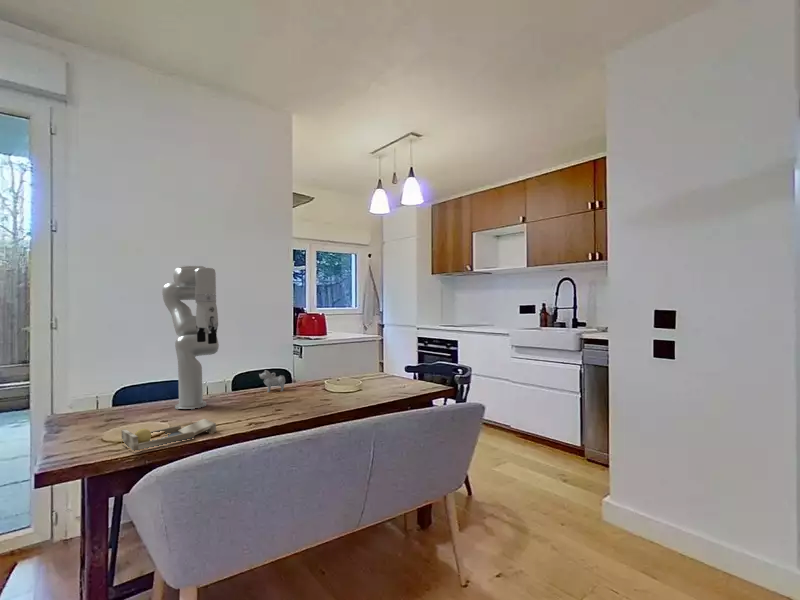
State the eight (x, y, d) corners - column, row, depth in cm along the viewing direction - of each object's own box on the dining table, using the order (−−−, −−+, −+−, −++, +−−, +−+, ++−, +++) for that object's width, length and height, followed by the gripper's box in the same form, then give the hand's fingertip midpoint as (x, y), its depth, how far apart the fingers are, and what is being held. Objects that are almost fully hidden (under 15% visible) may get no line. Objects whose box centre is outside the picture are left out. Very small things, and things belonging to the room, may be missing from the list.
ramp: (205, 427, 172) (204, 418, 172) (216, 432, 166) (216, 423, 166) (177, 433, 165) (177, 424, 165) (187, 439, 159) (187, 429, 159)
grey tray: (121, 445, 154) (121, 430, 154) (179, 432, 167) (179, 418, 167) (134, 453, 145) (133, 437, 145) (194, 439, 159) (193, 424, 159)
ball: (140, 423, 153) (128, 435, 151) (146, 429, 150) (133, 442, 148) (151, 430, 156) (139, 443, 154) (157, 437, 153) (145, 449, 151)
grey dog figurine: (260, 390, 237) (259, 369, 237) (285, 389, 239) (285, 368, 239) (258, 392, 232) (258, 371, 232) (285, 391, 234) (284, 370, 234)
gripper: (225, 299, 180) (226, 343, 180) (205, 299, 192) (206, 340, 192) (206, 299, 174) (207, 345, 175) (187, 299, 186) (187, 342, 187)
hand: (206, 342), depth 183 cm, fingers open, 9 cm apart
